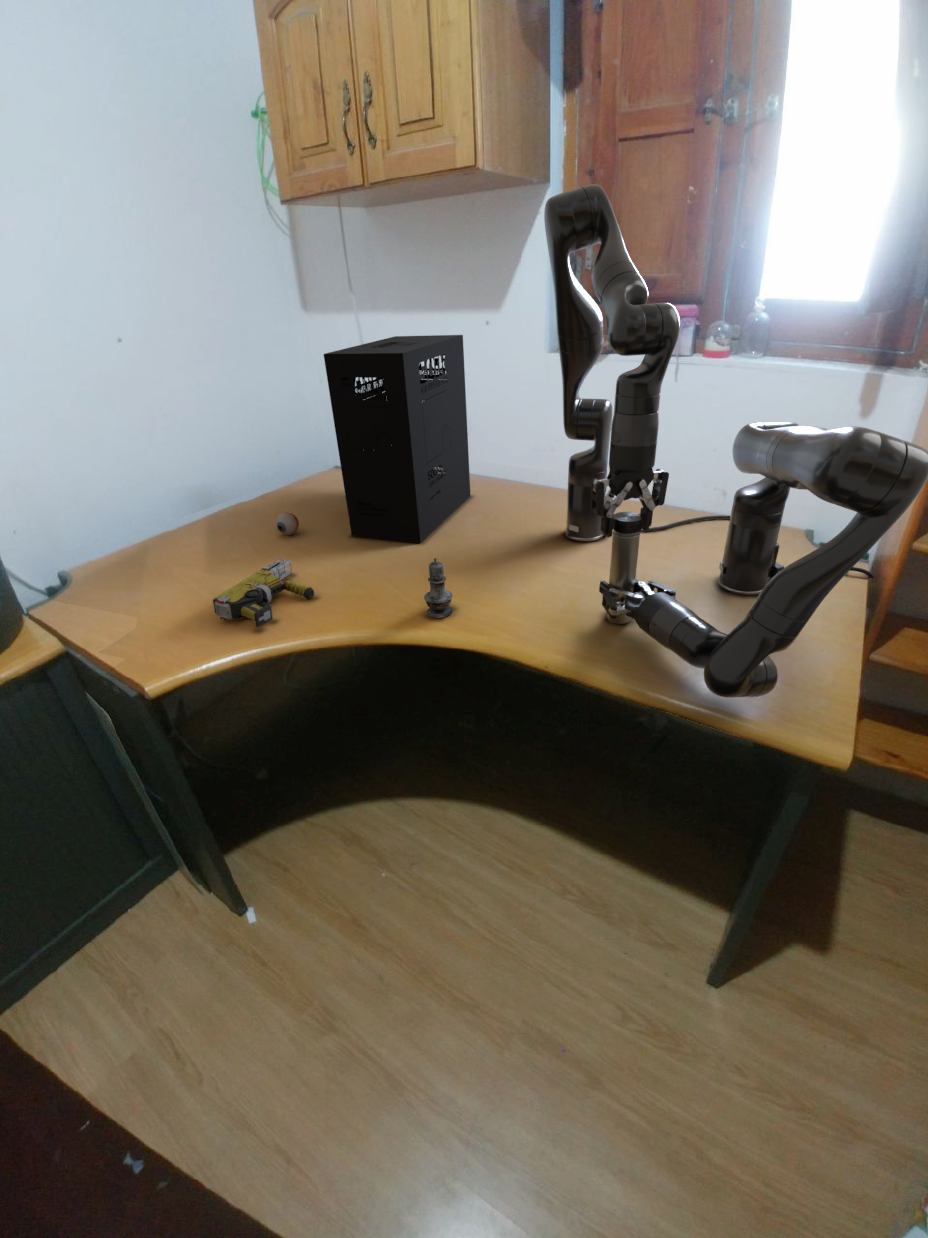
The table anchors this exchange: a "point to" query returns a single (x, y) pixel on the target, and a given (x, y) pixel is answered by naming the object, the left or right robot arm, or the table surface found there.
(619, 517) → the lid
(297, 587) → the toy gun
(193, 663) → the table surface
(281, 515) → the eyeball
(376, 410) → the cardboard box
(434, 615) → the dark chess piece
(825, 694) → the table surface
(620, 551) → the metal thermos bottle
